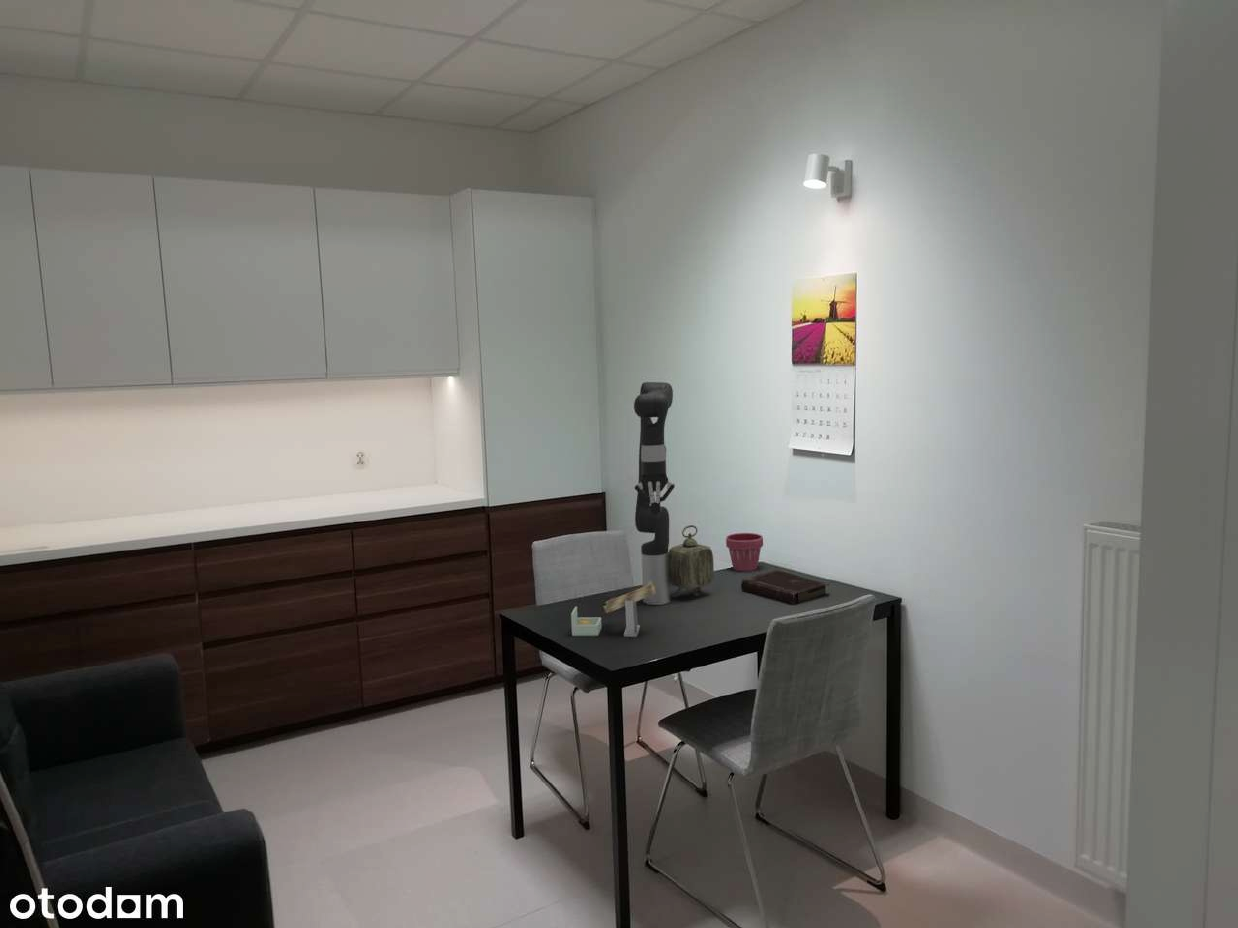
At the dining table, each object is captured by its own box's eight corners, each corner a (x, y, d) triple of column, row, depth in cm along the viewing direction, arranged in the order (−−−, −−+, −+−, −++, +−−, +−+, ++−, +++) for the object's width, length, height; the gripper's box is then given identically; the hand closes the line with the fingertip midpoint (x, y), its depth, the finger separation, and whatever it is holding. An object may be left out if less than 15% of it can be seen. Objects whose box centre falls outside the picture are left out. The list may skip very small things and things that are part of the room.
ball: (592, 626, 277) (583, 630, 278) (587, 617, 277) (578, 621, 278) (590, 629, 274) (581, 633, 275) (586, 620, 274) (577, 624, 274)
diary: (792, 607, 295) (792, 593, 294) (741, 593, 315) (740, 579, 315) (831, 596, 306) (831, 581, 305) (778, 582, 326) (778, 569, 325)
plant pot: (749, 575, 337) (748, 541, 335) (719, 570, 346) (718, 537, 345) (770, 567, 347) (770, 535, 345) (741, 562, 357) (740, 531, 355)
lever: (605, 614, 272) (600, 604, 272) (610, 603, 283) (606, 594, 283) (654, 594, 269) (650, 584, 269) (657, 584, 281) (653, 574, 280)
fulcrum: (623, 636, 270) (622, 601, 269) (627, 627, 279) (625, 593, 278) (636, 636, 270) (635, 601, 268) (639, 627, 279) (638, 592, 277)
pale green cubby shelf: (576, 628, 280) (575, 606, 280) (601, 627, 279) (600, 606, 279) (572, 636, 273) (570, 613, 272) (597, 636, 272) (596, 613, 271)
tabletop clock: (699, 589, 319) (696, 520, 316) (716, 594, 312) (714, 524, 309) (668, 597, 311) (665, 527, 308) (685, 602, 304) (683, 530, 301)
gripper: (675, 457, 278) (677, 512, 280) (633, 458, 279) (635, 512, 281) (674, 460, 270) (676, 516, 272) (631, 461, 272) (633, 517, 274)
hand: (655, 514), depth 277 cm, fingers closed
